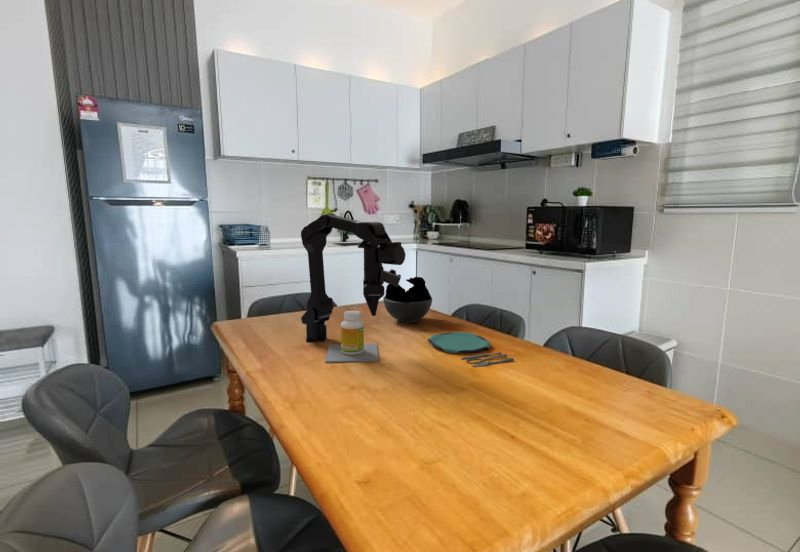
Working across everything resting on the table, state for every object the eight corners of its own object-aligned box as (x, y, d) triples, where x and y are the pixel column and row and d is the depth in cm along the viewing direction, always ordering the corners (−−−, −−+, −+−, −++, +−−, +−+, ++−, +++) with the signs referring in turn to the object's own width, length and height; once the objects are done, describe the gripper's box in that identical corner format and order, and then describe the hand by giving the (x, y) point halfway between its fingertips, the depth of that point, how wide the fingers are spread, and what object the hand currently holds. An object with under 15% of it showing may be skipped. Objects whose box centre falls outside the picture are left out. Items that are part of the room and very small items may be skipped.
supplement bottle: (362, 355, 131) (362, 315, 129) (339, 355, 131) (339, 314, 129) (364, 348, 138) (364, 309, 136) (343, 347, 138) (342, 309, 137)
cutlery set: (468, 334, 157) (468, 328, 157) (520, 363, 130) (520, 355, 129) (420, 341, 150) (420, 334, 149) (463, 372, 122) (463, 364, 122)
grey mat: (325, 362, 126) (325, 361, 126) (328, 345, 142) (328, 344, 142) (379, 361, 128) (379, 359, 128) (376, 344, 143) (376, 343, 143)
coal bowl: (437, 326, 167) (439, 279, 164) (387, 329, 163) (388, 281, 160) (424, 314, 186) (425, 272, 183) (379, 316, 182) (379, 273, 179)
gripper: (401, 266, 122) (401, 319, 125) (396, 259, 141) (396, 305, 143) (362, 266, 122) (363, 319, 124) (363, 259, 140) (363, 306, 142)
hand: (373, 312), depth 133 cm, fingers open, 9 cm apart
